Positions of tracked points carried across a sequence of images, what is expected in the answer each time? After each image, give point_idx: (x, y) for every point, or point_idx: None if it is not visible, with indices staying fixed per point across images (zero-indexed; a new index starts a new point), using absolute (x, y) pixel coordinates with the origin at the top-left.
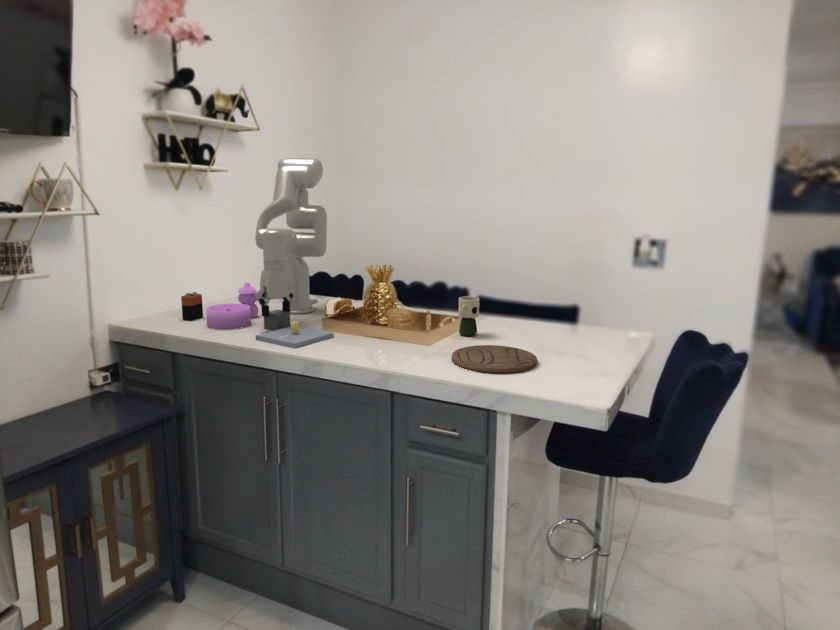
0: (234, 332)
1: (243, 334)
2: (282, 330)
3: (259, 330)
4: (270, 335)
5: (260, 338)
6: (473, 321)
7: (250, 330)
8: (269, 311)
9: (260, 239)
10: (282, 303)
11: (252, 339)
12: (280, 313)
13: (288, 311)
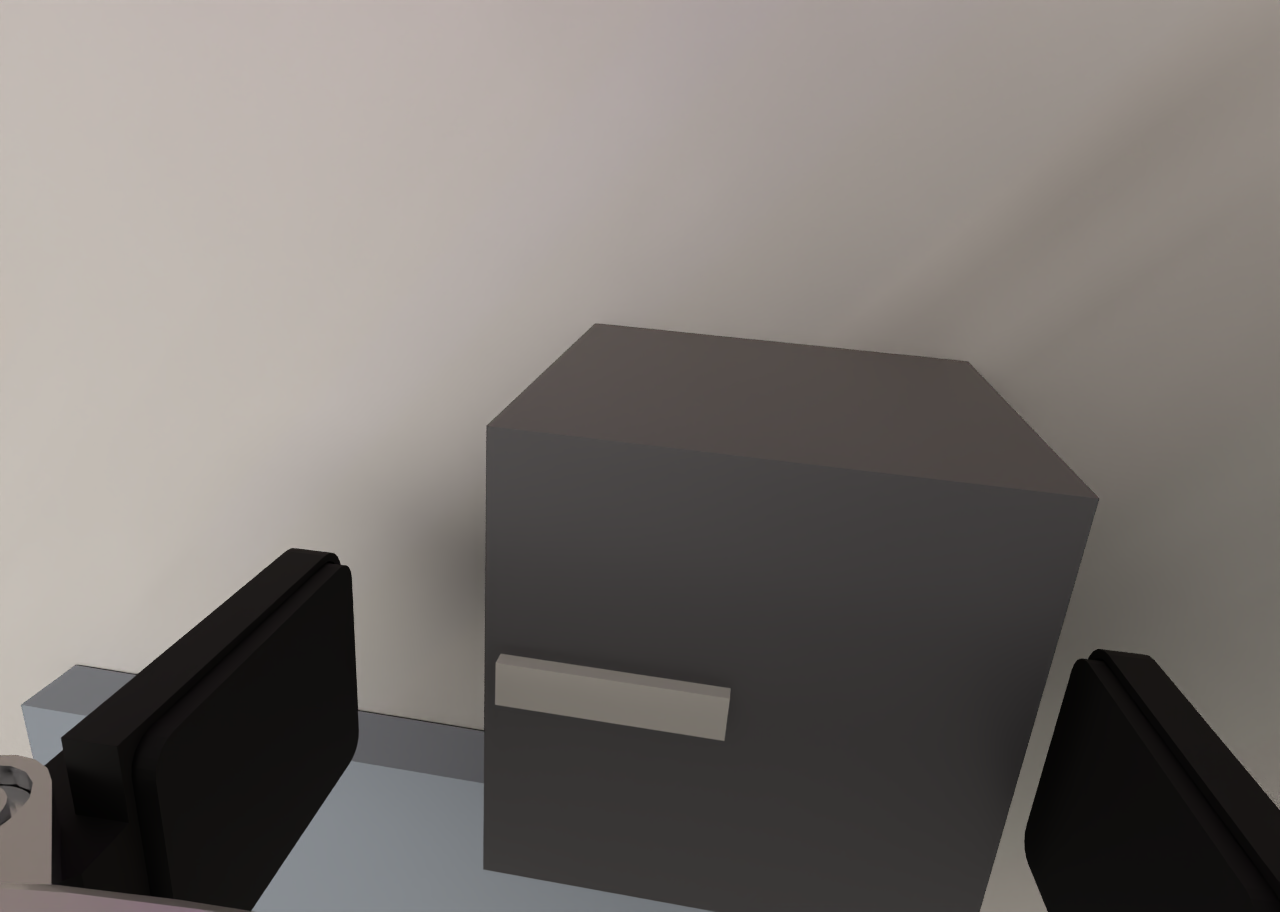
0: (69, 19)
1: (109, 291)
2: (463, 859)
3: (467, 322)
4: None
5: None
6: None
7: (363, 170)
8: (699, 486)
9: None
10: (1216, 859)
11: (52, 618)
12: (660, 874)
13: (1035, 879)
